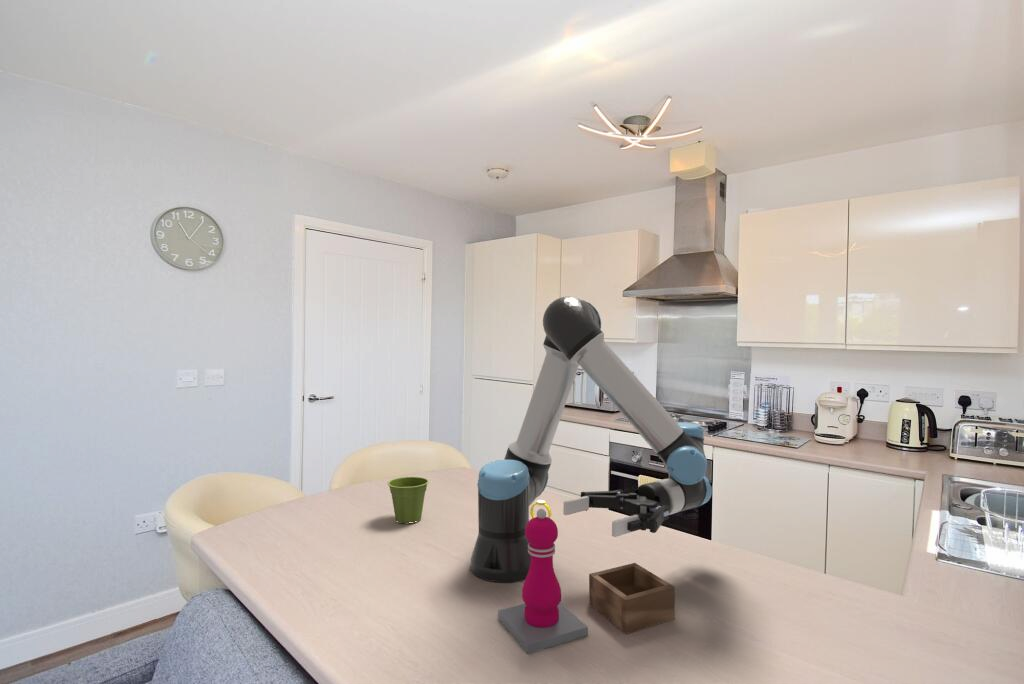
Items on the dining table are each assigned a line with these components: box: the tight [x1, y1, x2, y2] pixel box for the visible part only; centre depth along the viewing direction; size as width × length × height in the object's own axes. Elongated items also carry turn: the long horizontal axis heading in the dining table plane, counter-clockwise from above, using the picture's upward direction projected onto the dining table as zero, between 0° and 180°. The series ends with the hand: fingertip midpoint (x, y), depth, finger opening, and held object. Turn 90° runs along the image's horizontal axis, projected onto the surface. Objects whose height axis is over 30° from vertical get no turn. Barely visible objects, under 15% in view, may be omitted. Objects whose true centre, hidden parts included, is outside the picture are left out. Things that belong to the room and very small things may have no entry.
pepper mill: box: [521, 508, 562, 628], centre depth 93 cm, size 7×7×20 cm
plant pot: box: [387, 476, 430, 524], centre depth 148 cm, size 12×12×11 cm
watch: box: [529, 499, 552, 519], centre depth 146 cm, size 6×3×6 cm, turn 65°
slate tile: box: [497, 602, 589, 655], centre depth 93 cm, size 12×12×2 cm
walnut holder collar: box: [588, 562, 676, 635], centre depth 98 cm, size 11×11×6 cm
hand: (587, 518), depth 100 cm, fingers open, 13 cm apart
